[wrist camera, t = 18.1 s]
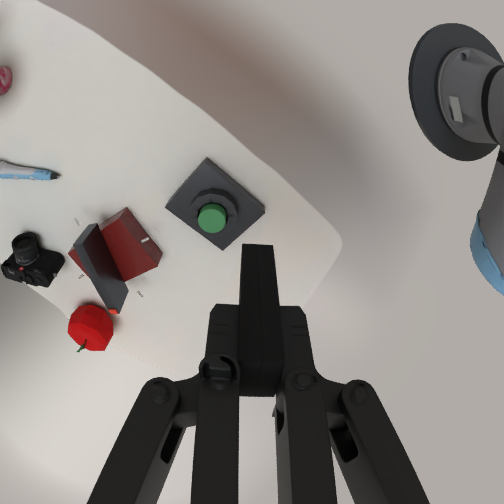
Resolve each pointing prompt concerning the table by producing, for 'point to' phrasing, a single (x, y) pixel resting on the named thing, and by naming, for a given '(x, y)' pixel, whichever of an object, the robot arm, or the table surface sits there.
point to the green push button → (212, 218)
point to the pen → (24, 172)
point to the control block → (215, 191)
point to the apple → (90, 328)
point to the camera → (31, 262)
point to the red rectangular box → (126, 246)
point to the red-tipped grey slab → (101, 268)
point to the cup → (5, 79)
